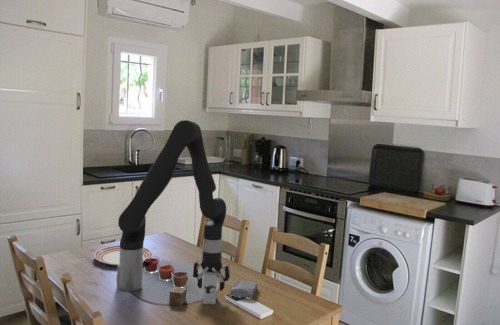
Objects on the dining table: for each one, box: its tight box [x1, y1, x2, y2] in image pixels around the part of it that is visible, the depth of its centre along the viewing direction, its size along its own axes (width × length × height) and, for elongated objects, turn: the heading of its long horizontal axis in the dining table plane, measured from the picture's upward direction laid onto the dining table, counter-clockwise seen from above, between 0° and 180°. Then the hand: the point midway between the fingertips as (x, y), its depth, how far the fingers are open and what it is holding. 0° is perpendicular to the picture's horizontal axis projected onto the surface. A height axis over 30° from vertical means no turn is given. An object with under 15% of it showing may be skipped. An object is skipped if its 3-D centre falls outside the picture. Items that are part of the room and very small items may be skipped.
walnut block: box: [168, 286, 187, 307], centre depth 171 cm, size 5×5×5 cm
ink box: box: [203, 272, 218, 305], centre depth 174 cm, size 8×5×12 cm, turn 5°
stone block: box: [230, 280, 258, 300], centre depth 184 cm, size 12×5×10 cm
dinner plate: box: [93, 244, 154, 267], centre depth 215 cm, size 27×27×3 cm
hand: (210, 289), depth 175 cm, fingers open, 8 cm apart
